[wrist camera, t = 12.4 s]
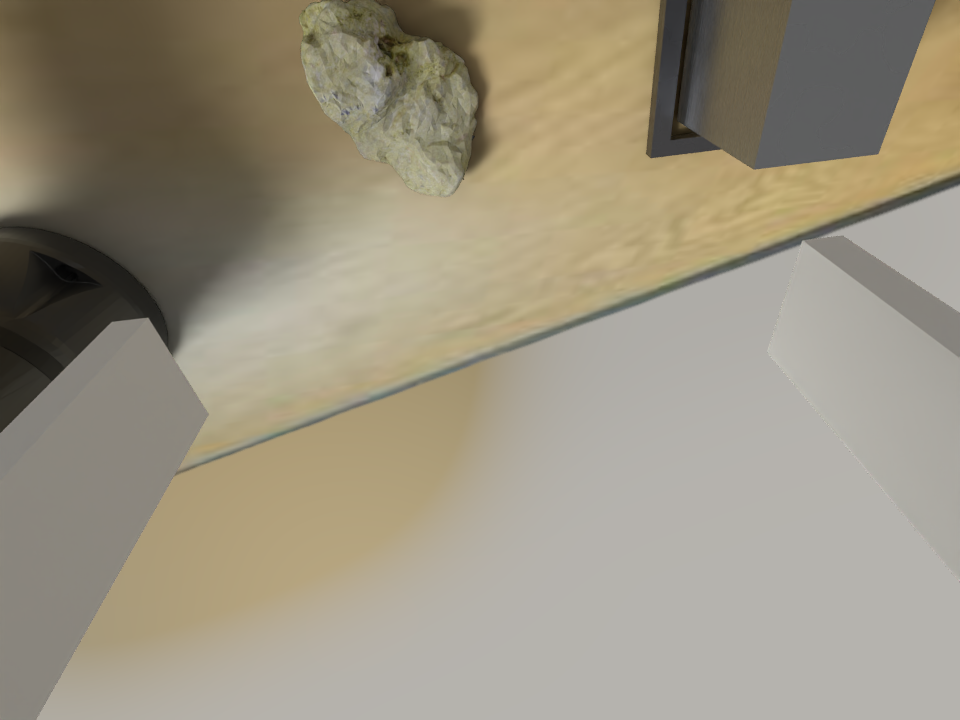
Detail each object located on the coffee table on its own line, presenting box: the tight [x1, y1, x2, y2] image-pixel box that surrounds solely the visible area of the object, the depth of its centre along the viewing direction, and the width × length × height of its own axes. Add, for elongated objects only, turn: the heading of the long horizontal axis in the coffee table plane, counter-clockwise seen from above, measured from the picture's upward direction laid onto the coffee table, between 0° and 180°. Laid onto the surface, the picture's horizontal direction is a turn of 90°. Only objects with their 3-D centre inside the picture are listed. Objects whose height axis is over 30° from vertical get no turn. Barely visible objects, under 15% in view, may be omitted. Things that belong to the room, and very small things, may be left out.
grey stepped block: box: [677, 0, 936, 169], centre depth 26 cm, size 6×8×11 cm
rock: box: [299, 0, 478, 197], centre depth 30 cm, size 11×6×10 cm
